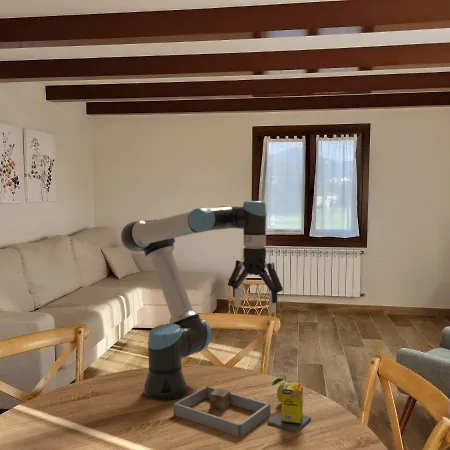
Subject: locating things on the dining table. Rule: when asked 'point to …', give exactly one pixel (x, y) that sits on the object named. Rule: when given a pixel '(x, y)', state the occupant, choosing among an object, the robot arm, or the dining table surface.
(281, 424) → the slate coaster
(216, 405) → the walnut block
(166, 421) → the dining table surface
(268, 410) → the grey bin
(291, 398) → the supplement box
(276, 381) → the lemon
